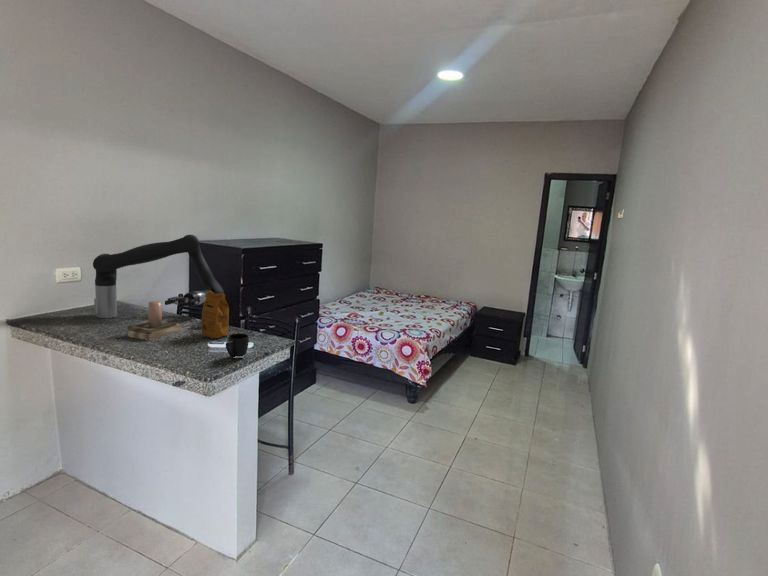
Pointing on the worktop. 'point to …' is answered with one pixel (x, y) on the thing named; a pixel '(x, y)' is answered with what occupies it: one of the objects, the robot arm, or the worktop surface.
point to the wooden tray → (152, 330)
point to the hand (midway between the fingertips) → (172, 304)
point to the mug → (237, 344)
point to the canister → (155, 314)
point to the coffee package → (215, 316)
